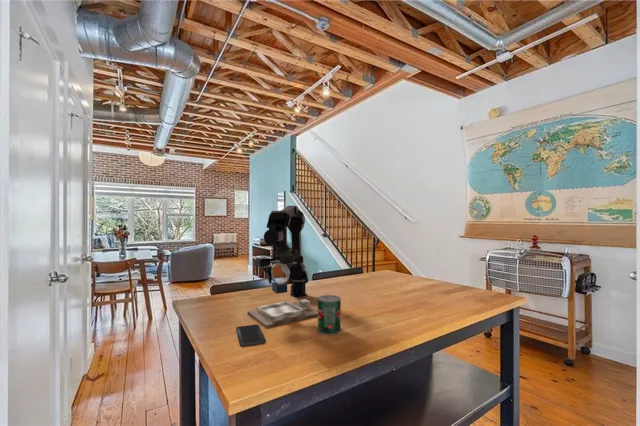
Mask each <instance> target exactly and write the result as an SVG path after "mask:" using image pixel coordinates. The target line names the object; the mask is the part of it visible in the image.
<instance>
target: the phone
mask: <svg viewBox="0 0 640 426" xmlns="http://www.w3.org/2000/svg"><path fill="white" fill-rule="evenodd" d="M235 331H236V335H237V339H238V342H239V346H240V347H243V348H244V347H250V346H256V345H257V346H258V345H263V344H266V343H267V342H266V337H265V336H264V333H263V331H262V329H261V326H260V325H259V324H250V325H241V326H237V327H236V329H235Z"/></svg>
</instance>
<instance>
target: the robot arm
mask: <svg viewBox="0 0 640 426" xmlns="http://www.w3.org/2000/svg"><path fill="white" fill-rule="evenodd" d="M267 219H268V220H267V223H266V228H267V229H268V230H266V231H264V235H263V240H264V242H265V243H266V244H267V245H269V246H270V248H272V249H271V250H272V252H271V253H272V254H270V258H269V257H266V256H263V257H262V256H261V257H256V258H255V260H254V266H257V267H259V268H262V270H263V271H264V275H265V276H266V279H267V281H268V283H269V284H270V285H272V282H273V281H272V276H271V270H272V265H271V264H275V263H282V264H285V265H286V266H287V267H288V269H289V271H290V276H289V279H288V280H287V281H288V283H289V284H291V285H290V293H289V295H290V296H293V297H295V298H298V297H304V296H307V295H308V293H307V292H306V284H308V283H309V277H308V273H307V270H306V266H305V264H304V257H303V255H302V231H303V229H304V227H305V224H306V217H305V213H304V212H303V211H301V210H300V208H299V207H298V206H296V205H287V206H285V207H284V208H282V209H281V210H271V212H270V213H269V215H268V218H267ZM288 230H289V232H290V233H291V250H290V247H289V245H288ZM272 271H273V270H272Z"/></svg>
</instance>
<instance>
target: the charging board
mask: <svg viewBox="0 0 640 426" xmlns="http://www.w3.org/2000/svg"><path fill="white" fill-rule="evenodd" d="M247 315H248V316H249V317H250V318H252V319H254V320H255V321H256V322H257V323H259V324H260V325H261V326H262V327H264V328H266V329H269V328H274V327H277V326H281V325H285V324H286V325H287V324H289V323H295V322H299V321H303V320H308V319H311V318H316V317H317V318H318V309H316V308H314V307H312V306H311V301H310V300H308V299H306V298H303V299H298V301H296V302H290V301H288V300H287V301H282V302H278V303H277V302H276V303H271V304H266V305H261V306H260V305H259V306H257V307H256V309H254V310H249V311H247Z"/></svg>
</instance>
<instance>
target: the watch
mask: <svg viewBox="0 0 640 426" xmlns="http://www.w3.org/2000/svg"><path fill="white" fill-rule="evenodd" d="M271 266H272V270H271V276H272V282H271V291H272V292H273V293H275V294H284V293H288V283H286V282H287V281H288V279H289V276H290V271H289V269H288V267H287V264H282V263H273V264H272V265H271ZM277 266H280V269H281V271H282V272H283V274H285V278H284V279H283V280H282V281H277V280H276V279H275V276H274V274H273V270H274V268H276V267H277Z"/></svg>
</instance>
